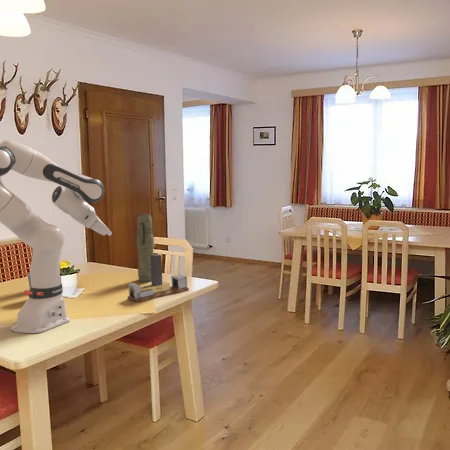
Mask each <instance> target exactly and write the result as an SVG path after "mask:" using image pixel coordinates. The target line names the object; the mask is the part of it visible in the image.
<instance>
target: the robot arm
mask: <svg viewBox="0 0 450 450" xmlns="http://www.w3.org/2000/svg"><path fill="white" fill-rule="evenodd" d="M10 171H14V172H16V173H18V174H20V175H22V176H26V177H28V178H32V179H36V180H41V181H45V182H48V183H49V182H50V183H54V184H57V185H58V186H57V187H56V188H55V189H54V190H53V192H52V194H51V202H52V203H53V204H54V206H55V207H57V208H58V209H59V210H60V211H62V212H63V213H65V214H67V215H69V216H70V217H71V218H72V219H73V220H75V221H76V222H78V223H79V224H80V225H83V226H84V227H85V228H87V229H89V228H90V229H91V230H92V231H94V232H96V233H98V234H99V235H102V236H106V235H107V236H109V237H111V235H112V234H113V232H112V231H111V230H110V229H109V227H107V225H106V224H105V223H104V222H103V221H102V220H101V218H100V217H99V215H97V213H96V210H95V208H94V207H93V206H92V205H90V204H95V203H96V204H97V203H98V202H100V201H101V200H102V199H103V197H104V195H105V190H106V189H105V186H104V184H103V181H101V180H99V179H96V178H93V177H90V176H87V175H85V174H76V173H74V172H71V171H70V170H67V169H65V168H63V167H61V166H60V165H58V164H57V163H56V162H55V161H53V160H51V159H50V158H49V157H47V156H46V155H45V154H43V153H41V152H40V151H39V150H36V149H34V148H33V147H30V146H28V145H26V144H23V143H21V142H17V141H15V140H11V139H5V140H3V141H2V142H0V223H1V224H2V225H3V226H5V227H6V228H7V229H8V230H9V231H10V232H12V234H14V235H16V236H17V237H18V238H19V239H20V240H21V241H22V242H24V243H25V244H26V246H27V245H28V246H29V247H30V248H32V249H31V250H32V257H31V263H30V266H29V274H30V275H31V287H30V286H29V290H26V289H24V290H23V291H24V292H23V296H28V298H27V299H26V301H25V302H24V304H23V306H22V307H21V308H20V310H18V313H17V317H16V322H17V323H15V324H13V325H12V326H11V327H10V330H11V332H15V333H23V334H39V333H43V332H46V331H49V330H52V329H54V328H56V327H58V326H61V325H63V324H66V323H69V322H70V318H69V316H68V314H67V313H68V312H67V305H66V301H65V298H64V297H63V292H64V290H63V289H64V287H63V284H62V275H61V276H60V269H61V260H62V259H61V257H62V252H63V246H64V244H65V235H64V233H63V231H62V230H61V229H60V228H59V227H58V226H56V225H55V224H51V223H48V222H46V221H45V220H43V219H42V218H41V217H40V216H39V215H38V214H37V213H36V212H35V211H34V210H33V209H32V207H30V205H28V204H27V203H26V202H24V201H23V200H22V199H21V198H20V197H18V196H17V195H16V194H15V193H13V191H11V190H10V189H8V188H7V187H6V186H5V185H4V183H3V182H2V179H1V177H3V176H5V175H6V174H8V173H9V172H10Z"/></svg>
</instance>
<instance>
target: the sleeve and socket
mask: <svg viewBox="0 0 450 450" xmlns="http://www.w3.org/2000/svg"><path fill="white" fill-rule="evenodd" d="M170 277H171V286H172V287H177V286H178V289H183V288H187V287H188V275H187V276H186V275H184V274H181V273H180V274H174V275H171V276H170ZM140 287H141V285H140V284H137V283H135V282H131V283H128V296H129V297H132V296H133V288H135V299H139V298H144V297H148V296H152V295H154V290H153V289H152V290H147V291H143V292H140Z"/></svg>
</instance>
